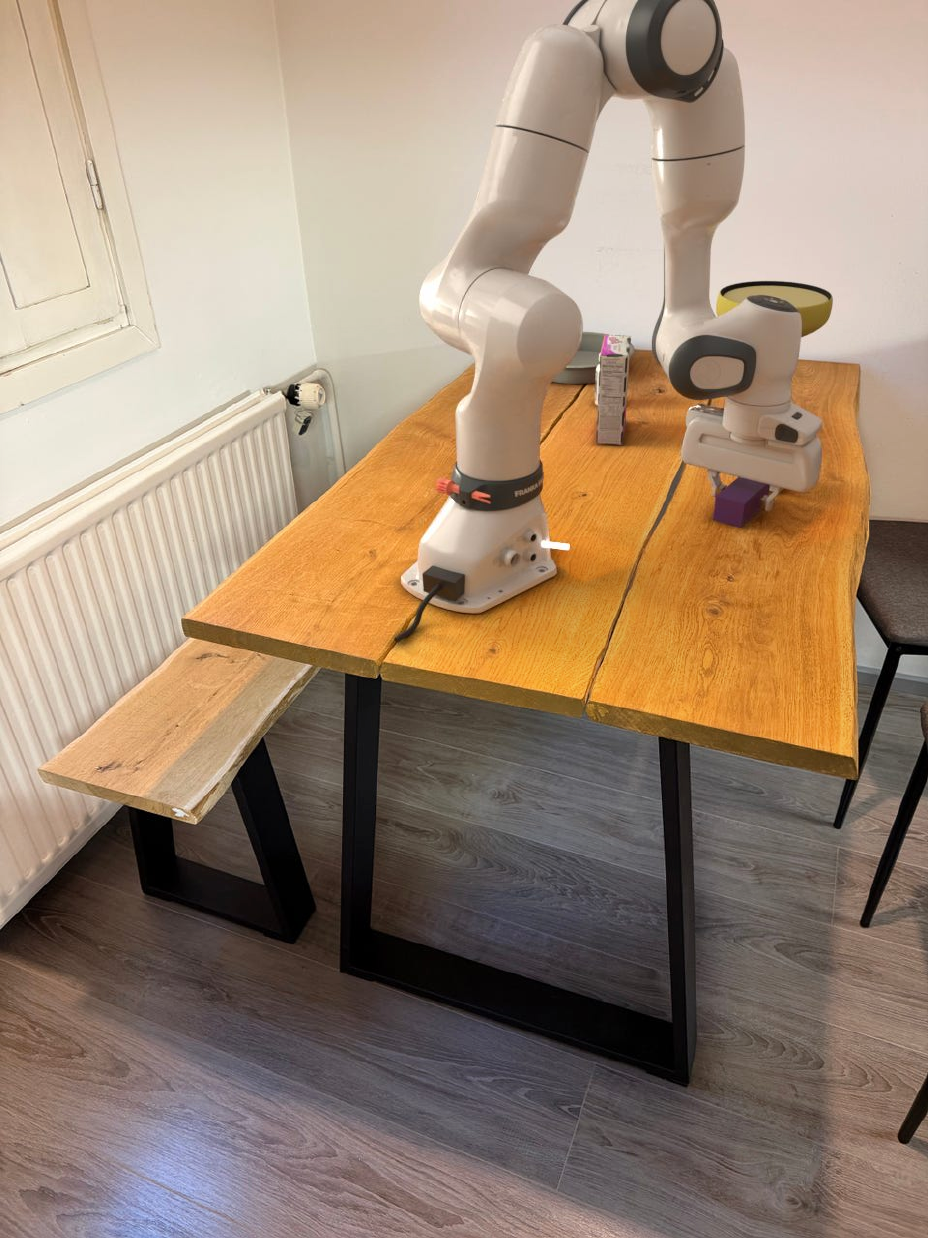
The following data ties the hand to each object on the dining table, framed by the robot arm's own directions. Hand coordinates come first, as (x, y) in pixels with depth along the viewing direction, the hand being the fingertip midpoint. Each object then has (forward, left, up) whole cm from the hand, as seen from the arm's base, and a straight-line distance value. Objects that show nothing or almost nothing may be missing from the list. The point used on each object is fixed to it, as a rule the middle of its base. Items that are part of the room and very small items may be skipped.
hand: (741, 502), depth 134 cm
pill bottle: (+29, +40, -2) cm, 49 cm away
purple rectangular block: (0, 0, -2) cm, 2 cm away
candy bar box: (+16, +32, -2) cm, 36 cm away
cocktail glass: (+28, +10, -2) cm, 30 cm away
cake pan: (+44, +57, -2) cm, 72 cm away
